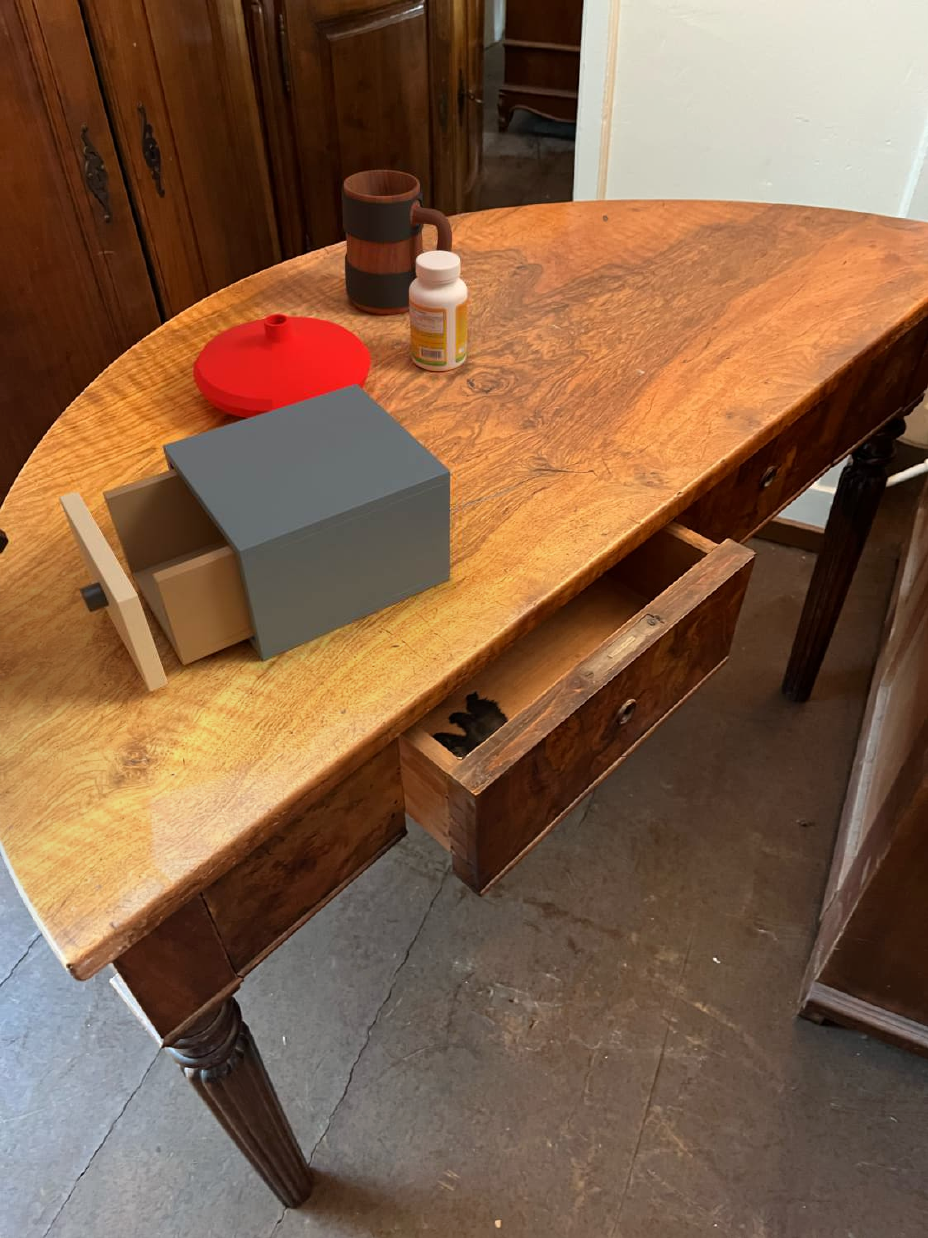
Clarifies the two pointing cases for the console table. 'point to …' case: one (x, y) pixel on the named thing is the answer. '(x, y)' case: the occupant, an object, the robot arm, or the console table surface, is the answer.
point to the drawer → (162, 572)
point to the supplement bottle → (438, 312)
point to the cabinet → (321, 512)
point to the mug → (385, 238)
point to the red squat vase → (278, 364)
